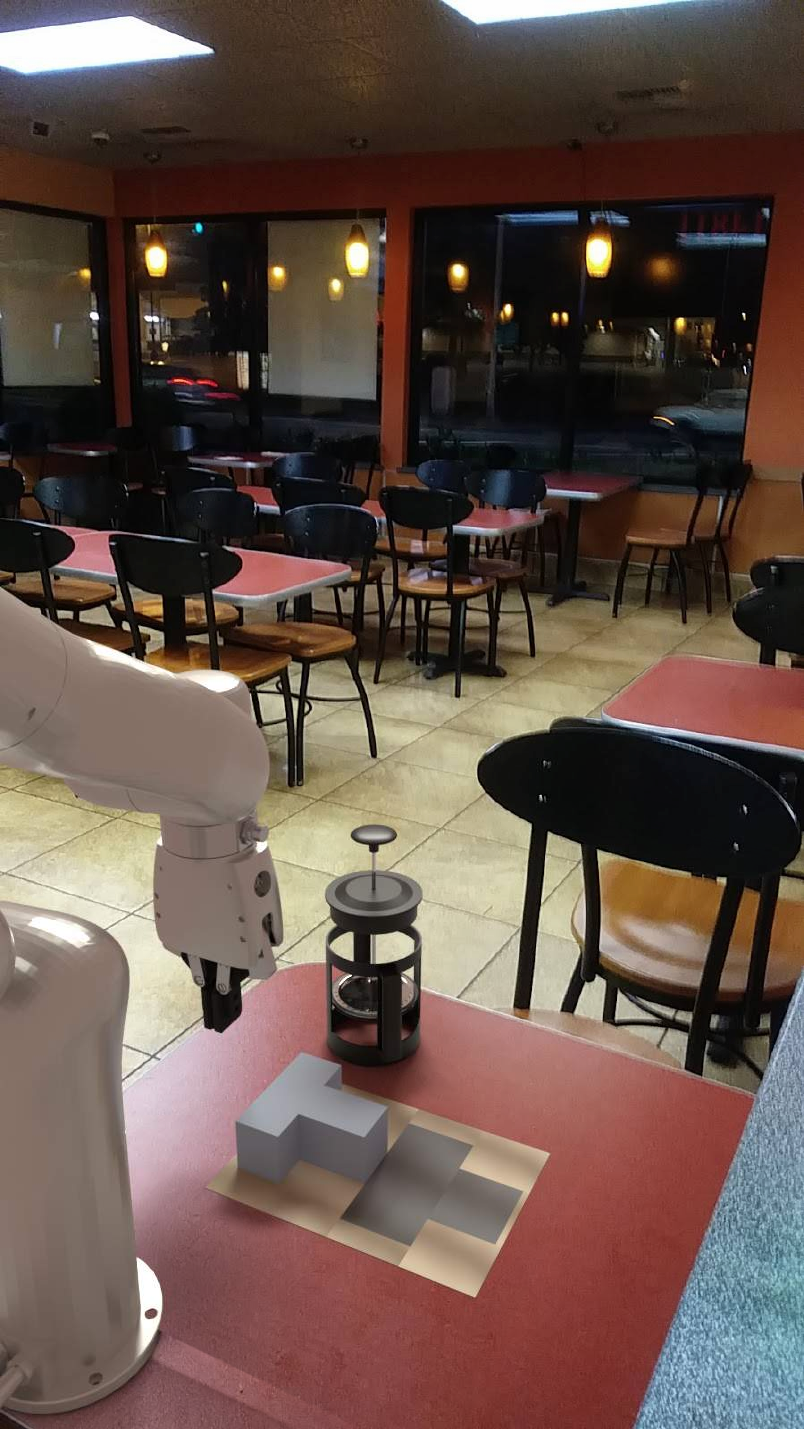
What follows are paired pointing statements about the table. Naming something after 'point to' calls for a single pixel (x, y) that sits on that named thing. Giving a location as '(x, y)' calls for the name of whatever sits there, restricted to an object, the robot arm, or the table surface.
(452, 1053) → the table surface
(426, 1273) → the board
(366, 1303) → the table surface
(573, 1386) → the table surface
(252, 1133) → the t block
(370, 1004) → the french press
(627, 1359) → the table surface
